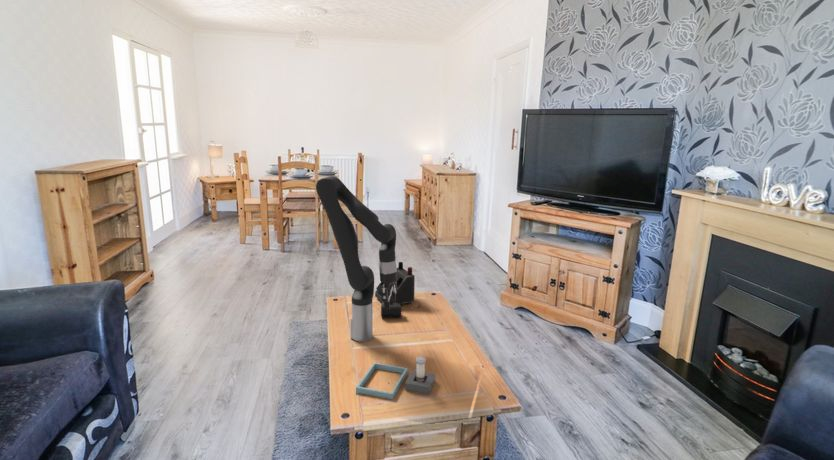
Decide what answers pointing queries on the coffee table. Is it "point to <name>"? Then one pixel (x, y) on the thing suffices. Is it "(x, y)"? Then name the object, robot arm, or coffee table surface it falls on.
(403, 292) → the voltmeter
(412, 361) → the coffee table surface
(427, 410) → the coffee table surface
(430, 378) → the socket block
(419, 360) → the white light bulb
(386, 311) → the black rectangular block
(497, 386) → the coffee table surface
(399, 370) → the parts tray
